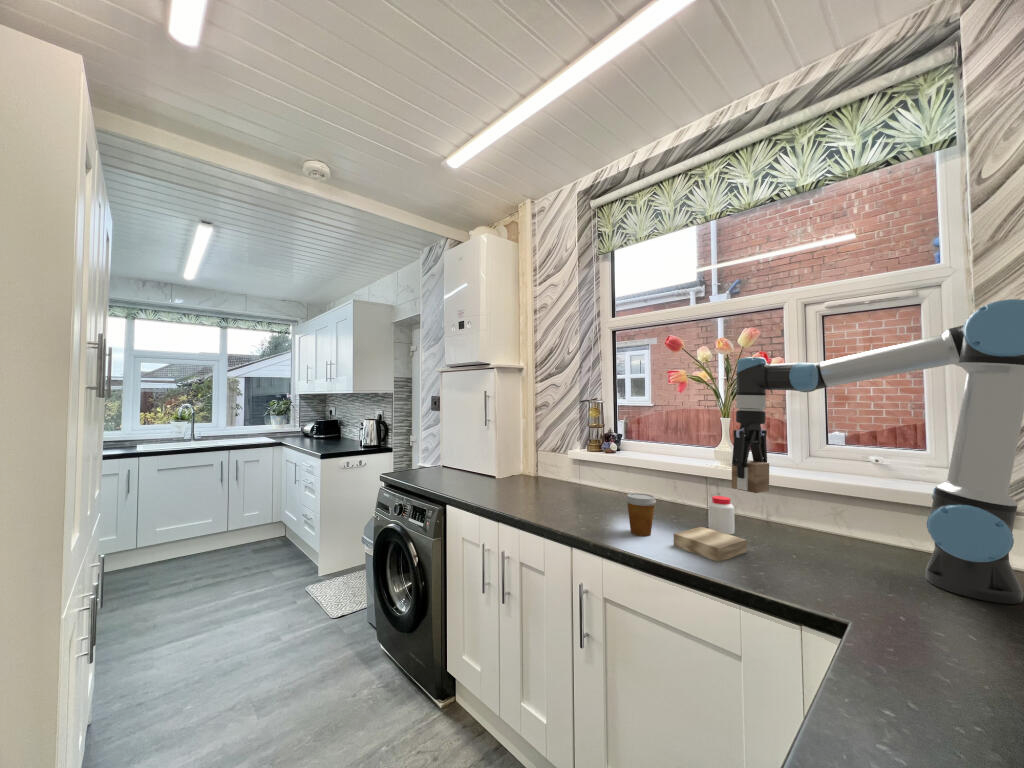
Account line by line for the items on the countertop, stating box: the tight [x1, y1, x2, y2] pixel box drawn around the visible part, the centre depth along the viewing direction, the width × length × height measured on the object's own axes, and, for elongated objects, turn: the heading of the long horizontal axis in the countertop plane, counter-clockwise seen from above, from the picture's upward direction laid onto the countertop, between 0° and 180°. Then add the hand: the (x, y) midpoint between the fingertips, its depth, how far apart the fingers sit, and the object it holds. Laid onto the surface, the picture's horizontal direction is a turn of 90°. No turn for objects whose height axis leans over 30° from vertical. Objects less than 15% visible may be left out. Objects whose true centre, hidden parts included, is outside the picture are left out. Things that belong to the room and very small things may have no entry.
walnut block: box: [731, 459, 770, 494], centre depth 120 cm, size 7×7×8 cm
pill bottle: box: [707, 495, 735, 535], centre depth 137 cm, size 8×8×11 cm
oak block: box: [673, 526, 748, 563], centre depth 119 cm, size 14×14×4 cm
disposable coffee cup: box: [625, 492, 657, 537], centre depth 133 cm, size 10×10×12 cm
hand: (749, 488), depth 119 cm, fingers closed on walnut block, 7 cm apart
